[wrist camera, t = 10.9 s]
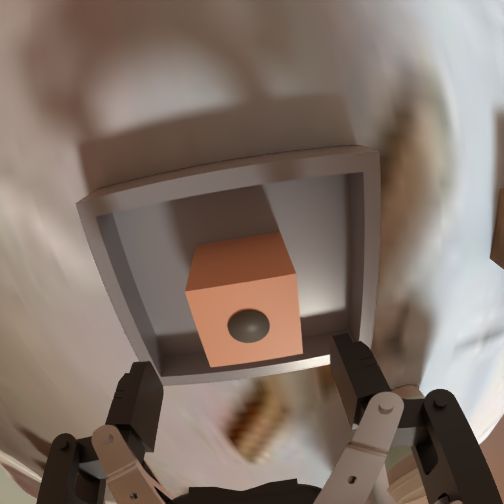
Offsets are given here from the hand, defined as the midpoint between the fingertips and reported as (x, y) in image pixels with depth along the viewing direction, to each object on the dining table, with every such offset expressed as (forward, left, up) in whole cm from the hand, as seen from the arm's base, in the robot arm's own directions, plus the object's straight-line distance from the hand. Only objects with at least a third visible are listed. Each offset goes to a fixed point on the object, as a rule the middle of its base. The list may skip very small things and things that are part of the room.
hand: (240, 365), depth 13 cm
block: (0, -1, -7) cm, 7 cm away
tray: (0, 0, -8) cm, 8 cm away
